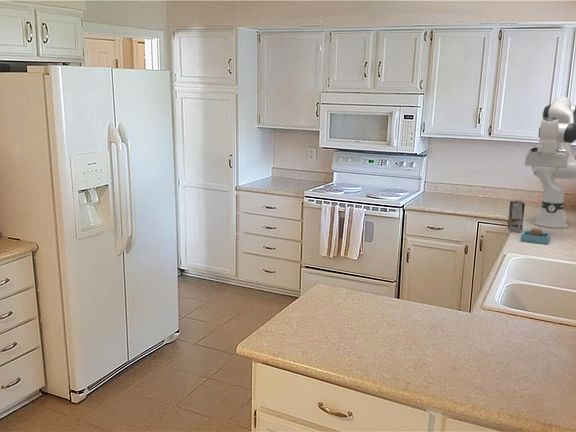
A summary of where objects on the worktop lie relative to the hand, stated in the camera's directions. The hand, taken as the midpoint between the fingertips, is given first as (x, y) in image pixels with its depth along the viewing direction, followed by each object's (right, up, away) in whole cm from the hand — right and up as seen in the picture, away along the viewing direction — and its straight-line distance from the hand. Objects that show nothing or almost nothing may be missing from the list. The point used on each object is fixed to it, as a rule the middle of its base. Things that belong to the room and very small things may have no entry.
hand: (544, 175), depth 297 cm
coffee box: (-8, -30, +19) cm, 36 cm away
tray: (-7, -34, -6) cm, 35 cm away
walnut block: (-7, -33, -6) cm, 34 cm away
